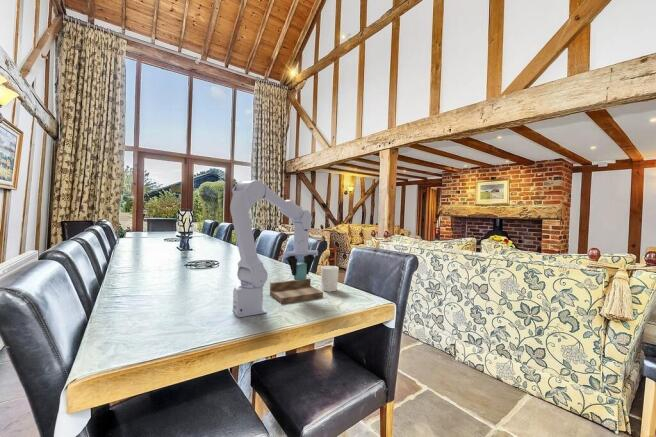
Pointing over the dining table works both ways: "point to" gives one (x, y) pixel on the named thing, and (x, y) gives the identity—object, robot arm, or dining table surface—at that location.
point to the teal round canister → (301, 271)
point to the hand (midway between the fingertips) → (300, 274)
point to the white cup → (329, 278)
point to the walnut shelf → (294, 291)
